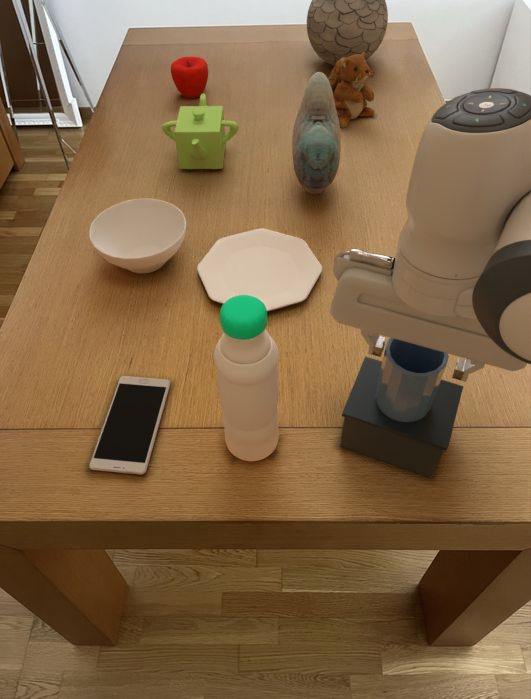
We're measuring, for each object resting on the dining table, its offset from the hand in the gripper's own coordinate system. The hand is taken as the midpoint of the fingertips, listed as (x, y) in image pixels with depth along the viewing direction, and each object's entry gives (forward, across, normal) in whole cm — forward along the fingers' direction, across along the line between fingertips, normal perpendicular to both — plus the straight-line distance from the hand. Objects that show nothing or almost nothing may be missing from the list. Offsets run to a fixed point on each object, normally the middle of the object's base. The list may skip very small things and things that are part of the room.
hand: (417, 363), depth 63 cm
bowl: (+15, -50, +18) cm, 55 cm away
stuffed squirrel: (+15, -34, +80) cm, 88 cm away
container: (+15, 0, 0) cm, 15 cm away
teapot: (+15, -54, +50) cm, 75 cm away
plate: (+15, -30, +22) cm, 40 cm away
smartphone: (+15, -34, -12) cm, 39 cm away
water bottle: (+15, -18, -8) cm, 25 cm away
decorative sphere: (+15, -42, +104) cm, 113 cm away
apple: (+15, -70, +75) cm, 104 cm away
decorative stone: (+15, -30, +49) cm, 59 cm away
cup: (+7, 0, 0) cm, 7 cm away
